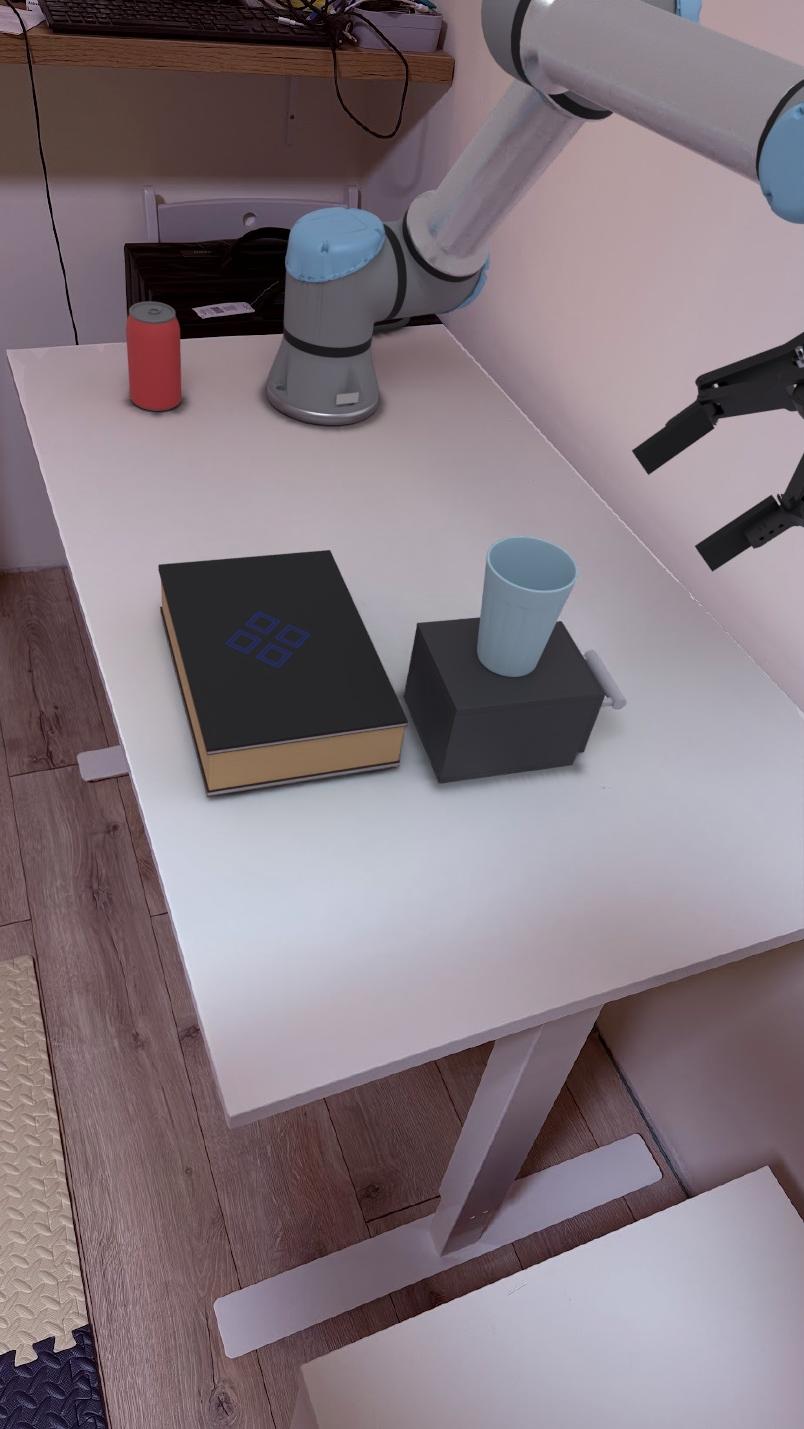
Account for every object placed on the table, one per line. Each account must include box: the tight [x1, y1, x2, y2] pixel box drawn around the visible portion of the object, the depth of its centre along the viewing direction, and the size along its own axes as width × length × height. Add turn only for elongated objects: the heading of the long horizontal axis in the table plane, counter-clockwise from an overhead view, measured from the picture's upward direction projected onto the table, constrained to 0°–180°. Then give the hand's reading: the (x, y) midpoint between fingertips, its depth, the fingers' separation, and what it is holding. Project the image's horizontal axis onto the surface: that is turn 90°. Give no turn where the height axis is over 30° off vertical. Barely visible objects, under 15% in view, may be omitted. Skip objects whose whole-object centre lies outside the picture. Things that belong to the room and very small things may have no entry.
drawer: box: [557, 620, 627, 754], centre depth 95 cm, size 16×10×8 cm, turn 107°
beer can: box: [125, 300, 182, 412], centre depth 128 cm, size 7×7×12 cm
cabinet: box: [403, 617, 599, 784], centre depth 94 cm, size 13×11×9 cm
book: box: [157, 549, 409, 798], centre depth 95 cm, size 17×25×7 cm
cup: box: [477, 535, 580, 677], centre depth 87 cm, size 8×8×10 cm
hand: (669, 508), depth 82 cm, fingers open, 13 cm apart
